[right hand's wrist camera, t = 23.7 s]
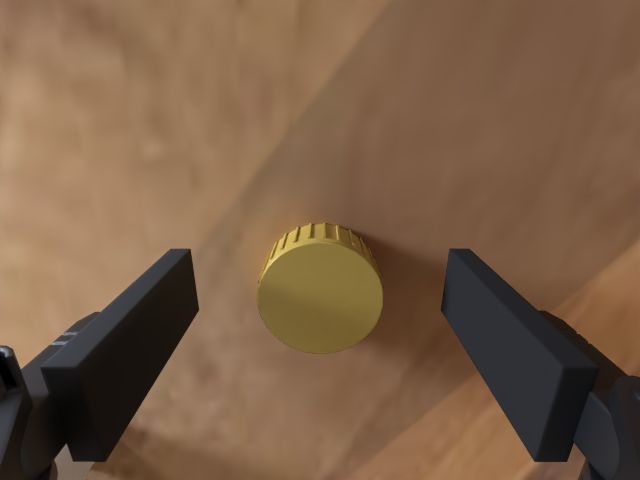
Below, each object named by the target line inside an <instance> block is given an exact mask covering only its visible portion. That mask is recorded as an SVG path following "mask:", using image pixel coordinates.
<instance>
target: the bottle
mask: <svg viewBox="0 0 640 480" xmlns="http://www.w3.org/2000/svg"><path fill="white" fill-rule="evenodd" d="M54 460H55V462H56V465H57V470H58V477H57V480H83V479H84V478H85V476H86V475H87V473H88V472H89V470H90V469H91V467H92V466H93V464H94V463H95V462H73V460H72V458H71V455H70V452H69V449H68V446H67V444H66V445H65V446H64V447H63V449H62V450H61V451H60V453H59V454H58V455H57V457H56V458H55V459H54Z"/></svg>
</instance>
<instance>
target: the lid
mask: <svg viewBox="0 0 640 480" xmlns="http://www.w3.org/2000/svg"><path fill="white" fill-rule="evenodd" d="M380 277H381V274H380V272H379V269H378V266H377V264H376V261H375V258H373V256H372V253H371V250H370V248H369V247H366V245H365V244H364V243H363V241H362V238H361V237H360V238H358V237H357V236H356V235H354V234H353V233H352V232H351V230H345V229H343V228H341V227H339V225H336V226H334V225H328V224H325V222H323V224H313V225H312V223H309V225H308V226H304V227H301V228H299V227H296V230H294V231H292V232H290V233H289V234H287V233H285V235H284V237H283V238H282V239H281V240H280V241H279V242H276V243H275V245H274V248H273V250H272V252H269V254H268V257H267V259H266V262H265V264H264V267H263V269H262V273H261V276H260V279H259V281H258V283H259V287H258V293H257V302H258V308H259V312H260V315H261V317H262V319H263V322H264V323H265V325H266V326H267V328H268V329H269V330H270V332H271V333H272V334H273V335H274V336H275V337H276V338H277V339H279V340H280V341H281V342H283V343H284V344H286V345H288V346H290V347H292V348H294V349H297V350H300V351H303V352H308V353H317V354H325V353H333V352H338V351H342V350H345V349H347V348H350V347H352V346H353V345H355V344H357V343H358V342H360V341H361V340H363V339H364V338H365V337H366V336H367V335H368V334H369V333H370V332H371V331H372V330H373V328H374V327H375V325H376V324H377V322H378V320H379V318H380V315H381V312H382V308H383V302H384V295H383V290H384V288H383V285H382V282H381V279H380Z"/></svg>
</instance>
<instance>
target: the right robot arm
mask: <svg viewBox="0 0 640 480" xmlns="http://www.w3.org/2000/svg"><path fill="white" fill-rule="evenodd" d="M198 311H199V306H198V299H197V292H196V285H195V278H194V270H193V263H192V256H191V249H170V250H169V251H168V252H167V253H166V254H164V255H163V256H162V257H161V258H160V259H159V260H158V261H157V262H156V263H155V264H153V265H152V266H151V267H150V268H149V269H148V270H147V271H146V272H145V273H143V274H142V275H141V276H140V277H139V278H138V279H137V280H136V281H135V282H133V283H132V284H131V285H130V286H129V287H128V288H127V289H126V290H125V291H124V292H122V293H121V294H120V295H119V296H118V297H117V298H116V299H115V300H114V301H112V302H111V303H110V304H109V305H108V306H107V307H106V308H105V309H104V310H102V311H101V312H94V313H92V314H91V315H89V316H87V317H85V318H83V319H81V320H79V321H77V322H76V323H75V324H74V325H73V326H71V327H70V328H69V329H68V330H67V331H66V332H64V335H61V336H60V337H59V338H57V339H56V340H55V341H54V342H53V344H52V345H49V346H48V347H47V348H46V349H45V350H43V351H42V352H41V353H40V354H39V355H38V356H36V357H35V358H34V359H33V360H32V361H31V362H29V363H28V364H27V365H26V366H25V367H24V368H22V369H20V367H19V364H18V361H17V359H16V356H15V353H14V351H13V349H11V348H10V347H8V346H0V480H57V477H58V470H57V465H56V462H55V460H54V459H55V458H56V457H57V455H58V454H59V453H60V451H61V450H62V449H63V447H64V446H65V445H66V444H67V446H68V449H69V452H70V455H71V458H72V460H73V462H106V460H107V458H108V457H109V455H110V454H111V452H112V450H113V449H114V447H115V446H116V444H117V442H118V441H119V439H120V437H121V436H122V434H123V433H124V431H125V429H126V428H127V426H128V424H129V423H130V421H131V420H132V418H133V416H134V415H135V413H136V411H137V410H138V408H139V407H140V405H141V403H142V402H143V400H144V399H145V397H146V395H147V394H148V392H149V390H150V389H151V387H152V386H153V384H154V382H155V381H156V379H157V377H158V376H159V374H160V373H161V371H162V369H163V368H164V366H165V364H166V363H167V361H168V360H169V358H170V356H171V355H172V353H173V352H174V350H175V348H176V347H177V345H178V343H179V342H180V340H181V339H182V337H183V335H184V334H185V332H186V330H187V329H188V327H189V326H190V324H191V322H192V321H193V319H194V317H195V316H196V314H197V313H198ZM441 311H442V313H443V314H444V316H445V318H446V319H447V321H448V322H449V324H450V326H451V327H452V329H453V330H454V332H455V334H456V335H457V337H458V339H459V340H460V342H461V343H462V345H463V347H464V348H465V350H466V352H467V353H468V355H469V356H470V358H471V360H472V361H473V363H474V365H475V366H476V368H477V369H478V371H479V373H480V374H481V376H482V377H483V379H484V381H485V382H486V384H487V386H488V387H489V389H490V390H491V392H492V394H493V395H494V397H495V399H496V400H497V402H498V403H499V405H500V407H501V408H502V410H503V412H504V413H505V415H506V416H507V418H508V420H509V421H510V423H511V424H512V426H513V428H514V429H515V431H516V433H517V434H518V436H519V437H520V439H521V441H522V442H523V444H524V446H525V447H526V449H527V450H528V452H529V454H530V455H531V457H532V459H533V460H534V462H567V460H568V458H569V455H570V452H571V449H572V446H573V443H575V444H576V446H577V447H578V448H579V449H580V451H581V452H582V453H583V455H584V456H585V457H586V460H585V462H584V465H583V467H582V470H581V473H580V475H579V478H578V480H640V377H637V376H628V375H627V374H626V373H625V372H623V371H622V370H621V369H620V368H619V367H617V366H616V365H615V364H614V363H613V362H612V361H610V360H609V359H608V358H607V357H606V356H604V355H603V354H602V353H601V352H600V351H599V350H597V349H596V348H595V347H594V346H593V345H592V344H588V341H587V340H586V339H584V338H583V337H582V336H581V335H580V334H577V333H576V331H575V330H574V329H573V328H571V327H570V326H569V325H568V324H567V323H566V322H564V321H563V320H561V319H560V318H558V317H556V316H554V315H552V314H550V313H548V312H546V311H538V310H536V309H535V308H534V307H533V306H532V305H531V304H530V303H529V302H528V301H526V300H525V299H524V298H523V297H522V296H521V295H520V294H519V293H518V292H516V291H515V290H514V289H513V288H512V287H511V286H510V285H509V284H508V283H506V282H505V281H504V280H503V279H502V278H501V277H500V276H499V275H498V274H497V273H495V272H494V271H493V270H492V269H491V268H490V267H489V266H488V265H487V264H485V263H484V262H483V261H482V260H481V259H480V258H479V257H478V256H477V255H475V254H474V253H473V252H472V251H471V250H470V249H449V256H448V263H447V270H446V277H445V284H444V292H443V299H442V306H441Z"/></svg>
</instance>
